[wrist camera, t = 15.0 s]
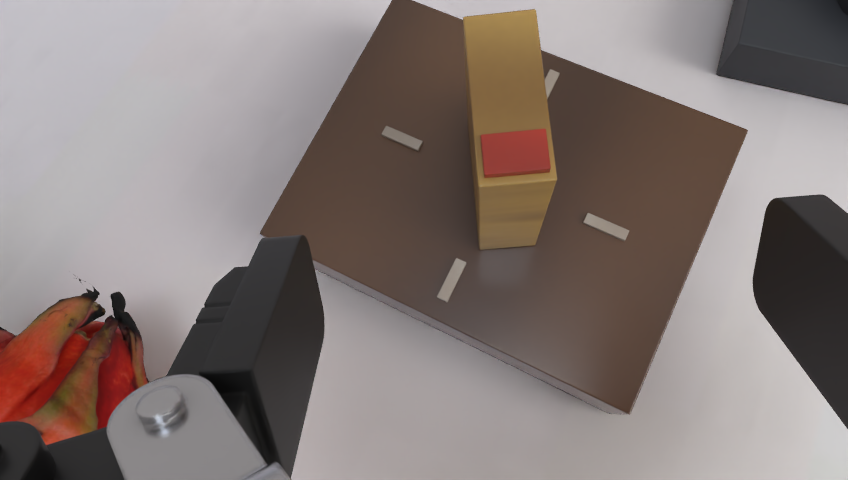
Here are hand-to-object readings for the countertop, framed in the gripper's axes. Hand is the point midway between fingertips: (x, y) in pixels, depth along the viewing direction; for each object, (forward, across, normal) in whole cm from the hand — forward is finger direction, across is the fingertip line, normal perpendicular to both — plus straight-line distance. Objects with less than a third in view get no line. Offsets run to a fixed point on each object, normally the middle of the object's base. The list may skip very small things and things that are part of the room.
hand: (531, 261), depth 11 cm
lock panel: (+12, 0, +5) cm, 13 cm away
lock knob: (+9, 0, +3) cm, 10 cm away
